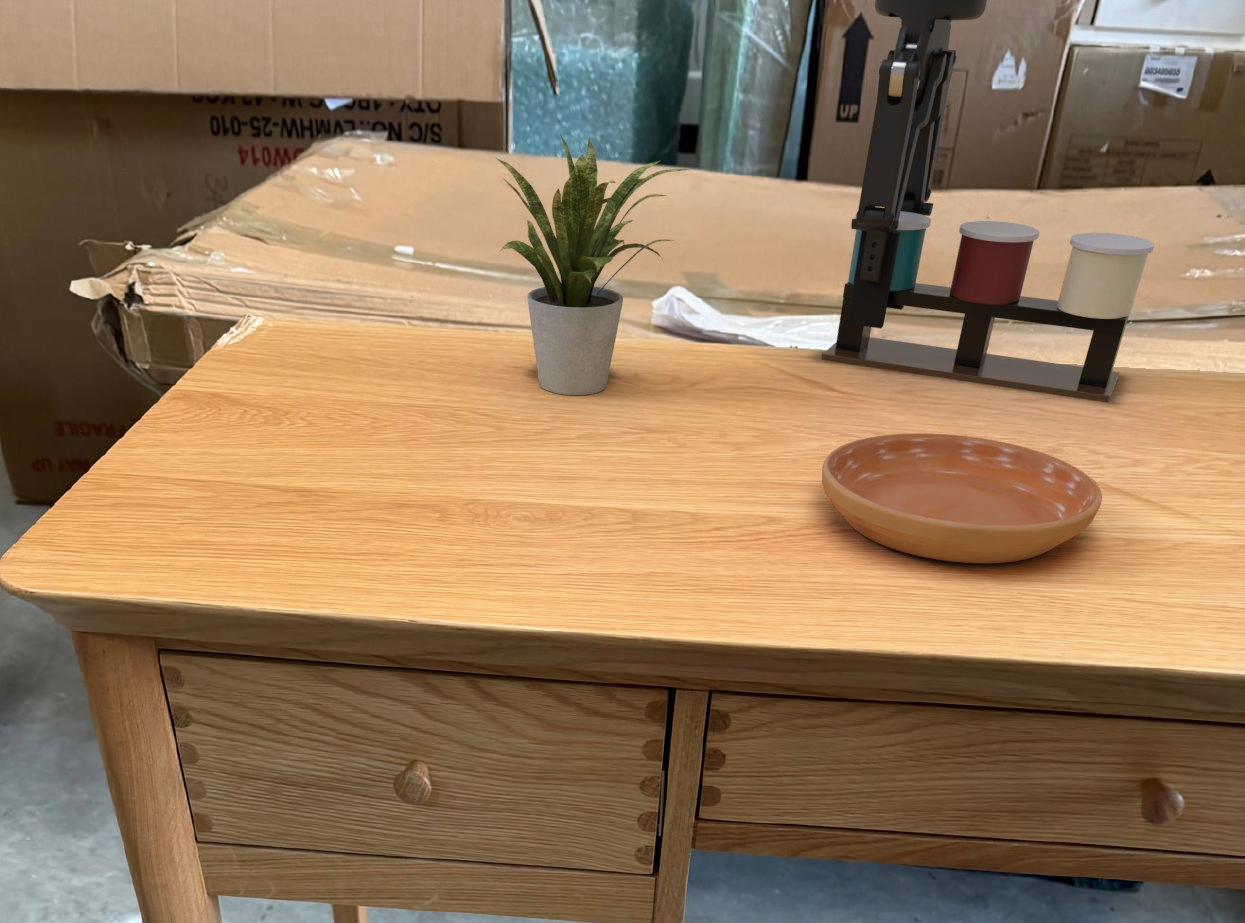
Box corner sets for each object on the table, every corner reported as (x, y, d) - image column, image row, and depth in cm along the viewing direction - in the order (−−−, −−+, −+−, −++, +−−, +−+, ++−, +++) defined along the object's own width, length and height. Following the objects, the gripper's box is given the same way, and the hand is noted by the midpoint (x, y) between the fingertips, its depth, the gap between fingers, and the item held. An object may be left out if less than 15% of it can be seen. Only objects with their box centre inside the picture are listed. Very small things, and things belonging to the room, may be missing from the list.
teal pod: (933, 286, 94) (947, 220, 91) (882, 295, 92) (894, 227, 89) (880, 272, 98) (891, 207, 95) (829, 280, 95) (839, 213, 92)
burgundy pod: (1038, 300, 92) (1055, 231, 89) (988, 309, 89) (1004, 239, 86) (980, 284, 95) (994, 218, 92) (930, 292, 93) (944, 225, 90)
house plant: (709, 408, 89) (735, 148, 78) (533, 426, 85) (536, 154, 74) (630, 356, 99) (643, 119, 88) (470, 370, 95) (464, 123, 84)
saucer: (861, 459, 81) (869, 413, 79) (1108, 507, 75) (1123, 459, 73) (777, 541, 70) (784, 490, 68) (1059, 604, 64) (1075, 550, 62)
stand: (1104, 412, 90) (1130, 326, 86) (820, 369, 97) (832, 287, 93) (1115, 388, 95) (1140, 305, 91) (843, 348, 102) (855, 270, 98)
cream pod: (1149, 313, 89) (1171, 244, 86) (1101, 323, 87) (1122, 252, 84) (1085, 297, 93) (1103, 229, 90) (1037, 306, 90) (1054, 237, 87)
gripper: (916, -57, 89) (860, 285, 104) (848, -57, 76) (795, 336, 91) (1020, -54, 87) (947, 296, 102) (968, -52, 74) (893, 350, 88)
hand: (875, 315), depth 96 cm, fingers open, 6 cm apart
